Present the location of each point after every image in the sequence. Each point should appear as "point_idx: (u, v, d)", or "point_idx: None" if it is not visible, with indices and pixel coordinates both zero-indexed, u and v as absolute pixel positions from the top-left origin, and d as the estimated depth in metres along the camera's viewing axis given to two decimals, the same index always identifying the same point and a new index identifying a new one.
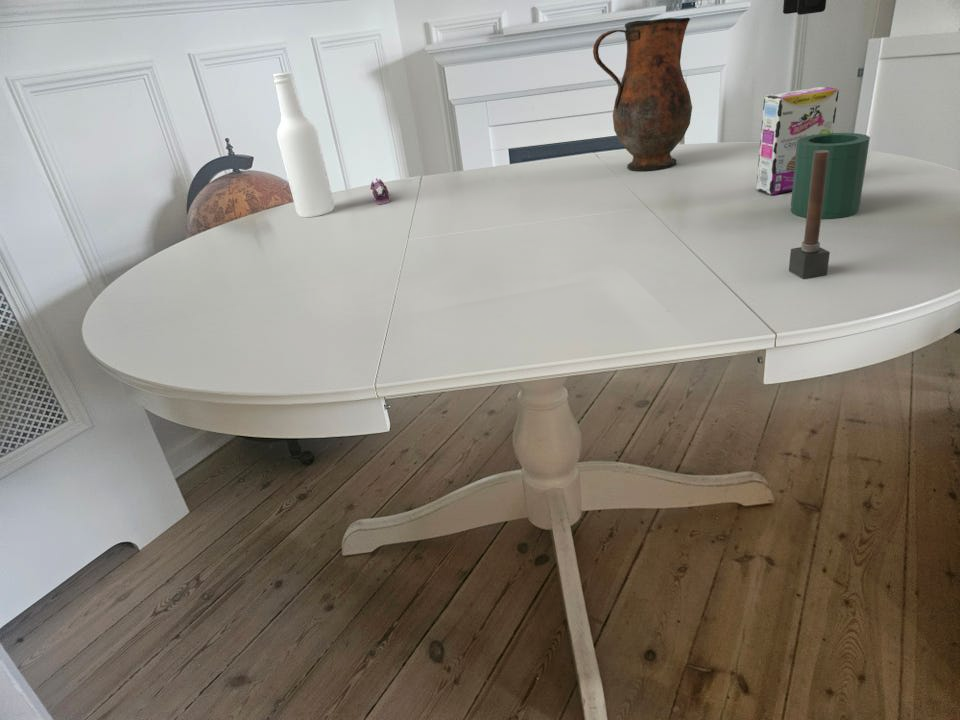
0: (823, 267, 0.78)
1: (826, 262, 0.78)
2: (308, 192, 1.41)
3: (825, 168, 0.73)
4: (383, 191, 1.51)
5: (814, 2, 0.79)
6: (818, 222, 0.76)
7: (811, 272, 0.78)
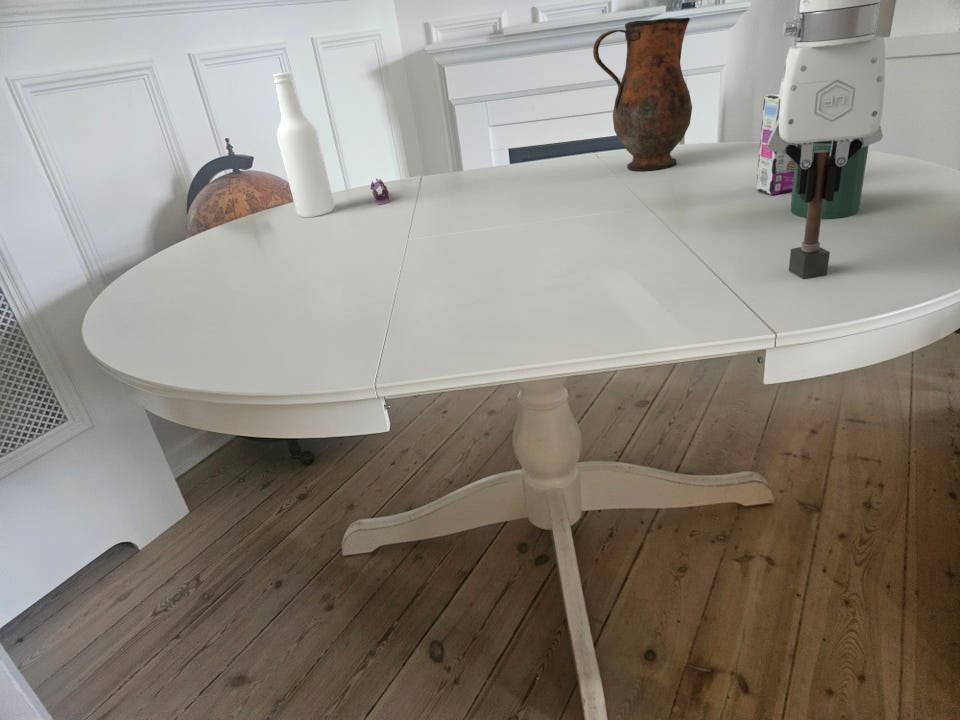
0: (823, 267, 0.78)
1: (826, 262, 0.78)
2: (308, 192, 1.41)
3: (825, 168, 0.73)
4: (383, 191, 1.51)
5: (797, 190, 0.76)
6: (818, 222, 0.76)
7: (811, 272, 0.78)
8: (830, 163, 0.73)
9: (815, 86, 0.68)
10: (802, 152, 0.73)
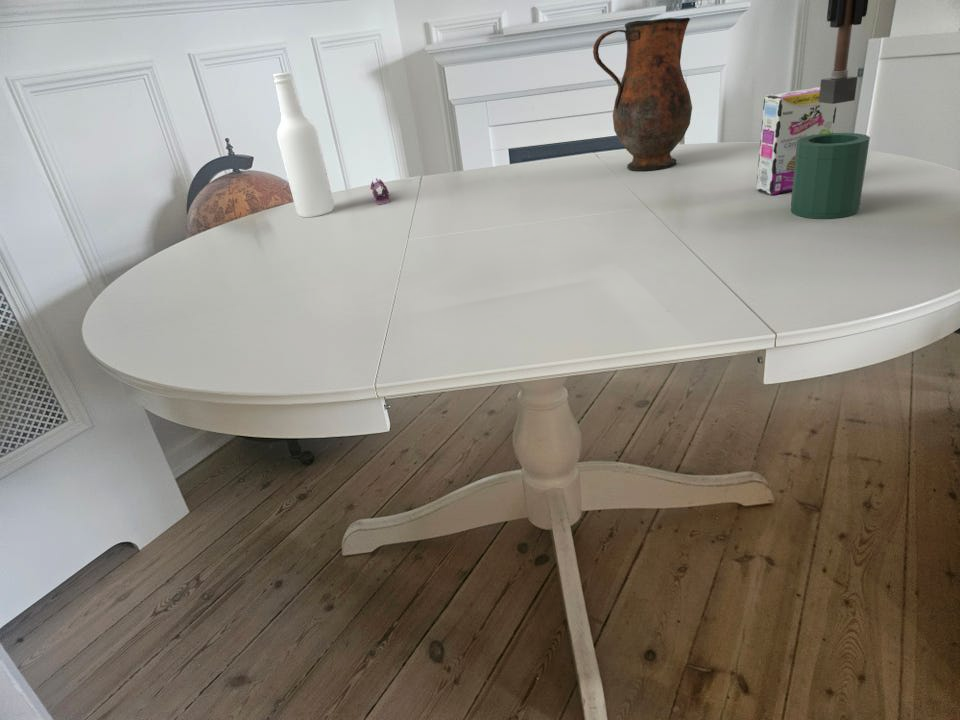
0: (851, 92, 0.86)
1: (854, 87, 0.86)
2: (308, 192, 1.41)
3: None
4: (383, 191, 1.51)
5: (828, 18, 0.83)
6: (847, 48, 0.84)
7: (840, 97, 0.86)
8: None
9: None
10: None
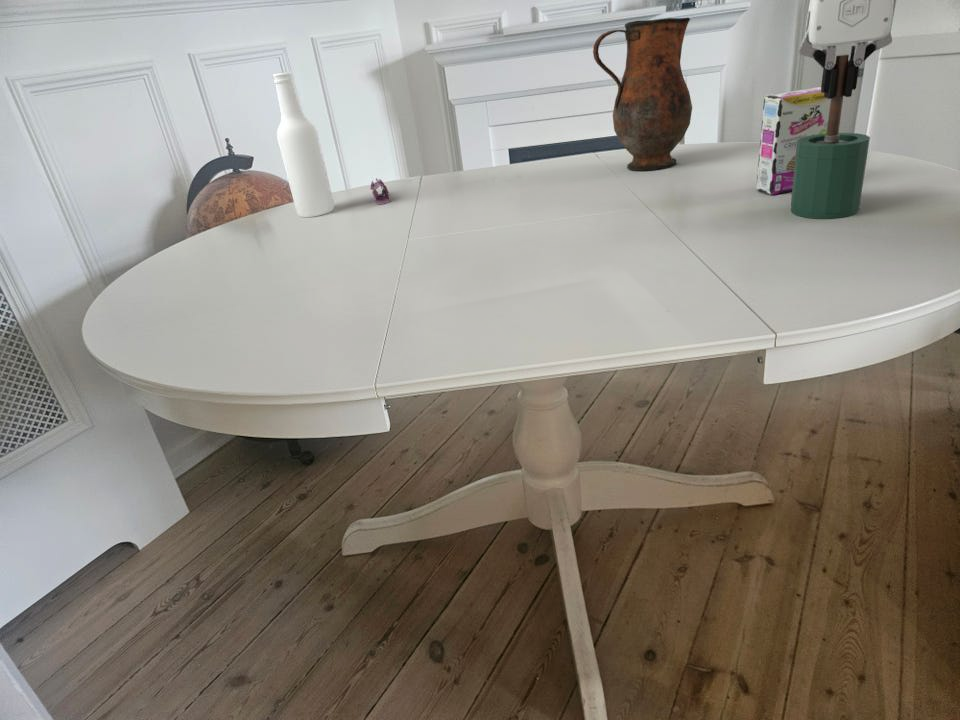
0: None
1: None
2: (308, 192, 1.41)
3: (845, 69, 0.91)
4: (383, 191, 1.51)
5: (822, 89, 0.93)
6: (839, 116, 0.94)
7: None
8: (849, 65, 0.91)
9: None
10: (827, 55, 0.90)
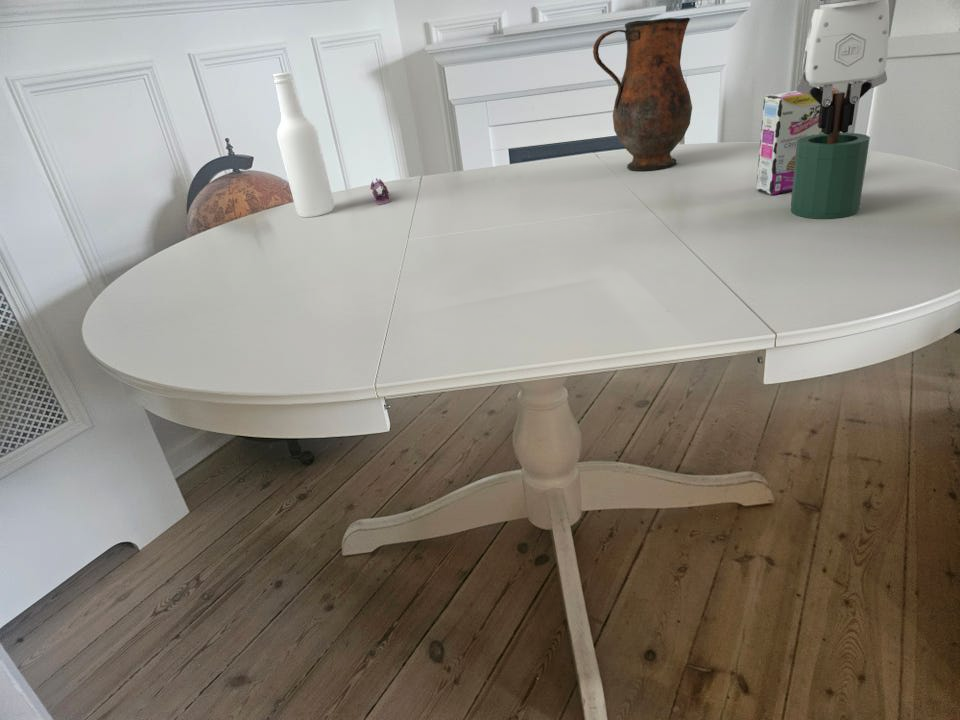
0: None
1: None
2: (308, 192, 1.41)
3: (841, 106, 0.93)
4: (383, 191, 1.51)
5: (819, 125, 0.95)
6: None
7: None
8: (845, 102, 0.93)
9: (835, 38, 0.88)
10: (824, 93, 0.92)
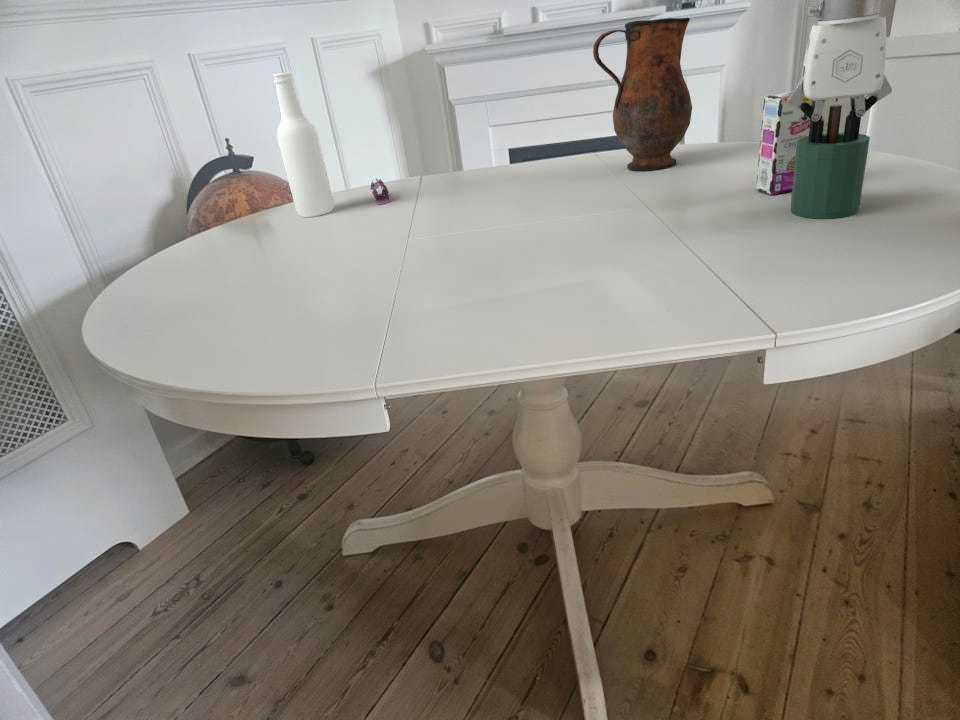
0: None
1: None
2: (308, 192, 1.41)
3: (838, 119, 0.94)
4: (383, 191, 1.51)
5: (809, 139, 0.97)
6: None
7: None
8: (851, 115, 0.94)
9: (832, 55, 0.89)
10: (813, 108, 0.93)
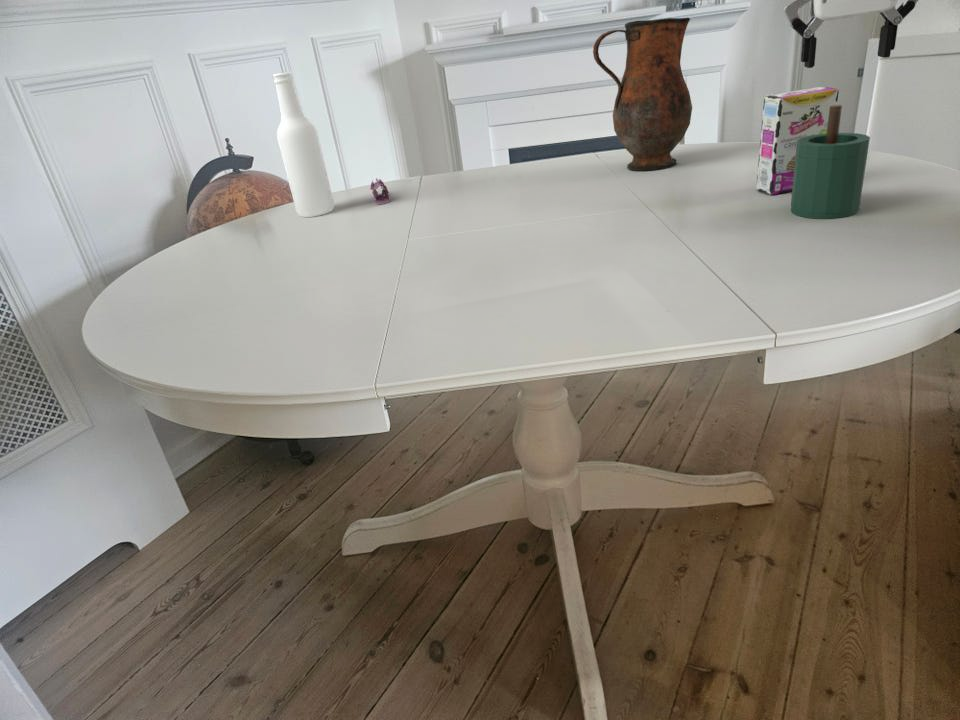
0: None
1: None
2: (308, 192, 1.41)
3: (838, 119, 0.94)
4: (383, 191, 1.51)
5: (802, 59, 0.92)
6: None
7: None
8: (887, 24, 0.87)
9: None
10: None
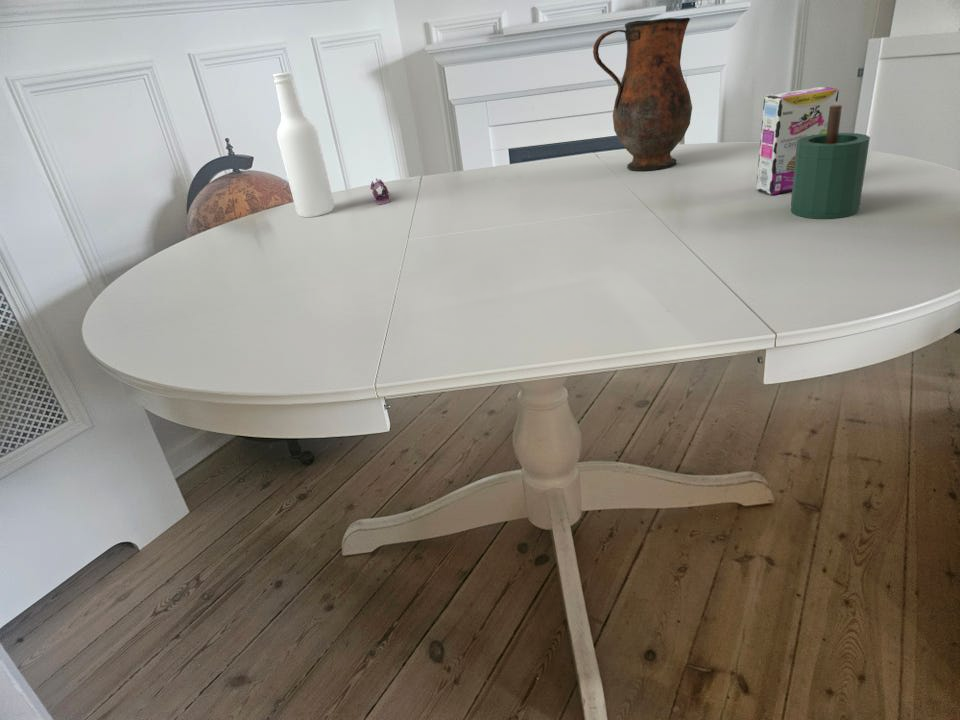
0: None
1: None
2: (308, 192, 1.41)
3: (838, 119, 0.94)
4: (383, 191, 1.51)
5: None
6: None
7: None
8: None
9: None
10: None
